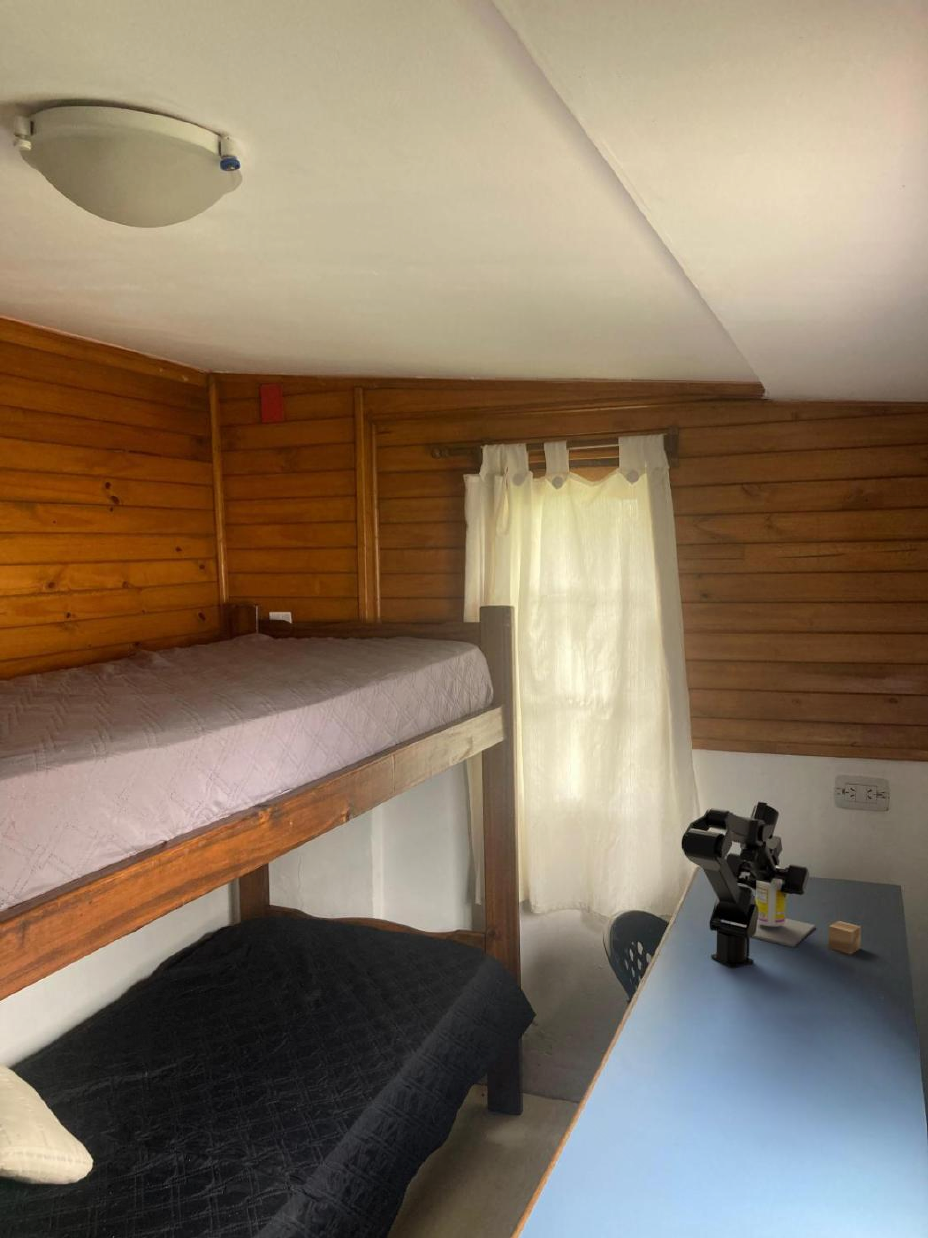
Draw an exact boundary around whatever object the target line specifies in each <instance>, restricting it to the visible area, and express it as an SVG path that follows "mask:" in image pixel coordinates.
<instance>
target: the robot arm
mask: <svg viewBox="0 0 928 1238" xmlns="http://www.w3.org/2000/svg"><path fill="white" fill-rule="evenodd" d="M779 817H780V813H779V811H778V810H776V809H775V808H773V807H772V806H770V805H768V802H763V801H762V802H761V801H758V802H757V804H756V805H754V806H753V809H752V812H751V815H750V817H746V816H739V815H736V814H734V813H733V812H732V811H730V810H727V809H721V808H720V809H719V808H713V807H711V808H708V809H706V811H705V813H704V815H702V816H700V817H699V818H697V819H695V820H693V821H691V822H690V824H688V825H689V826H688V827H687V828H686V830H685V832H684V834H683V835H682V836H681V837H682V838H681V849H682V851H683V854H684V856H685V857H686V858H687V859H688V861H689V862H691V863H693V864H695V865H696V866H699V867H701V869H702V870H703V872H704V875H705V876H706V878H707V880H708V882H709V884H710V886H711V887H712V889H713V892H714V894H715V895H716V897H717V898H716V901H715V903H714V905H713V909H712V913H711V916H710V919H709V928H710V931H712V932H713V931H715V932H716V953H713V954H711V955H710V958H711V959H714V960H715V961H718V962H720V963H721V964H723V965H725V966H727V967H730V968H738V967H741V966H745V965H749V964H753V963H754V962H755V961H754V959H753V958H750V940H751V938H752V936H753V935H754V934H755V933H756V927H757V920H758V913H759V908H758V905H757V904H756V895H754V894H753V891H755V892H756V880H757V881H762V882H767V883H771V881H772V879H773V878H776V879H781V880H782V882H783V883H782V887H781V890H780V892H781V893H782V894H783V895H784V896H785V897H786V898H785V899H787V898H788V897H789V895H799V896H802V895H805V892H806V888H807V884H808V880H809V878H810V872H809V869H808V868H807V866H802V865H797V864H789V865H788V866H787V867H785V868H781V867H779V866H780V858H779V857H780V855H781V852H782V851H783V846H782V843H783V842H782V837H780V836H777V835H774V833H775V829H776V826H777V824H778V823H777V822H778V819H779ZM710 829H713V830H714V829H715V830H718V831H721V832H723V833H721V832H714V831H709V830H710ZM724 833H725V834H724ZM733 843H738V844H739V847H740V852H739V854H737V853H732V852H730V850H731V848H732V846H733ZM729 852H730V853H729ZM776 867H779V868H776ZM723 921H724V922H723ZM728 922H730V923H732V922H734V923H738V924H743V925H747V926H746V927H742V926H737V925H733V924H730V923H728Z"/></svg>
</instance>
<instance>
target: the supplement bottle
mask: <svg viewBox="0 0 928 1238" xmlns="http://www.w3.org/2000/svg"><path fill="white" fill-rule="evenodd" d="M776 868H780V867H779V866H776ZM782 883H783V882H782V880H781V879H776V878H773V879H772V881H771V883H767V882H762V881H757V880H756V891H755V901H756V904H757V905H758V908H759V913H758V920H757V922H758V923H759V924H762V925H765V926H772V927H778V926H782V925H783V924H784V923H785V918H786V899H787V898H786V897H785V896H784V895H783V894H782V893H781V892H780V890H781V887H782Z"/></svg>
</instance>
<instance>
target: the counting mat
mask: <svg viewBox="0 0 928 1238" xmlns="http://www.w3.org/2000/svg"><path fill="white" fill-rule="evenodd" d="M729 924H733V925H737V926H742V927H746V926H747V925H743V924H738V923H734V922H730V923H729ZM815 928H816V925H815V924H811V923H807V922H803V921H799V920H795V919H790V918H786V917H785V923H784V924H783V925H782V926H778V927H772V926H765V925H762V924H759V923H758V922H757V927H756V933H755V934H754V935H753V936H752V937H751V938H752V939H757V940H761V941H766V942H769V943H773V944H777V943H778V945H782V946H787V947H790V948H794V947H795V946H797V945H798V944H799V943H800V942H801V941H802V940H803V939H804V938H805V937H806V936H807V935H808V934H810V932H812V931H813V930H814V929H815Z"/></svg>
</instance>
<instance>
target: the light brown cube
mask: <svg viewBox="0 0 928 1238" xmlns="http://www.w3.org/2000/svg"><path fill="white" fill-rule="evenodd" d="M861 935H862V926H859V925H856V924H853V923H848V922H845V921H840V920H837V921H836V922H834V923H832V924H830V925H828V946H827V947H828V948H827V949H831V950H835V951H837V952H841V953H845V954H848V955H852V954H854V953H855V952H857V951H859V950H860V949H861V940H862V939H861Z"/></svg>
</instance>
